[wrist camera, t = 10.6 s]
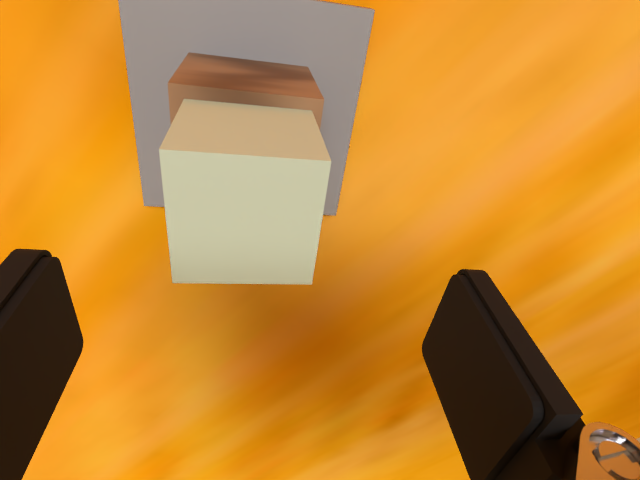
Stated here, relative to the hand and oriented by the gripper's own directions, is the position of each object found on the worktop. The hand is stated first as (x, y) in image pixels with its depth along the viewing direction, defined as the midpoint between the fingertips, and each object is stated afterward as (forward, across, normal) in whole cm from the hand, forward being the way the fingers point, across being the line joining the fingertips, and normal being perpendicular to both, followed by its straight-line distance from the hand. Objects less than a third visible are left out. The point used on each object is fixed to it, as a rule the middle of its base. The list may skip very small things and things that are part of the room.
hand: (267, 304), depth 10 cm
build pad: (+16, +1, 0) cm, 16 cm away
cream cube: (+9, +1, 0) cm, 9 cm away
